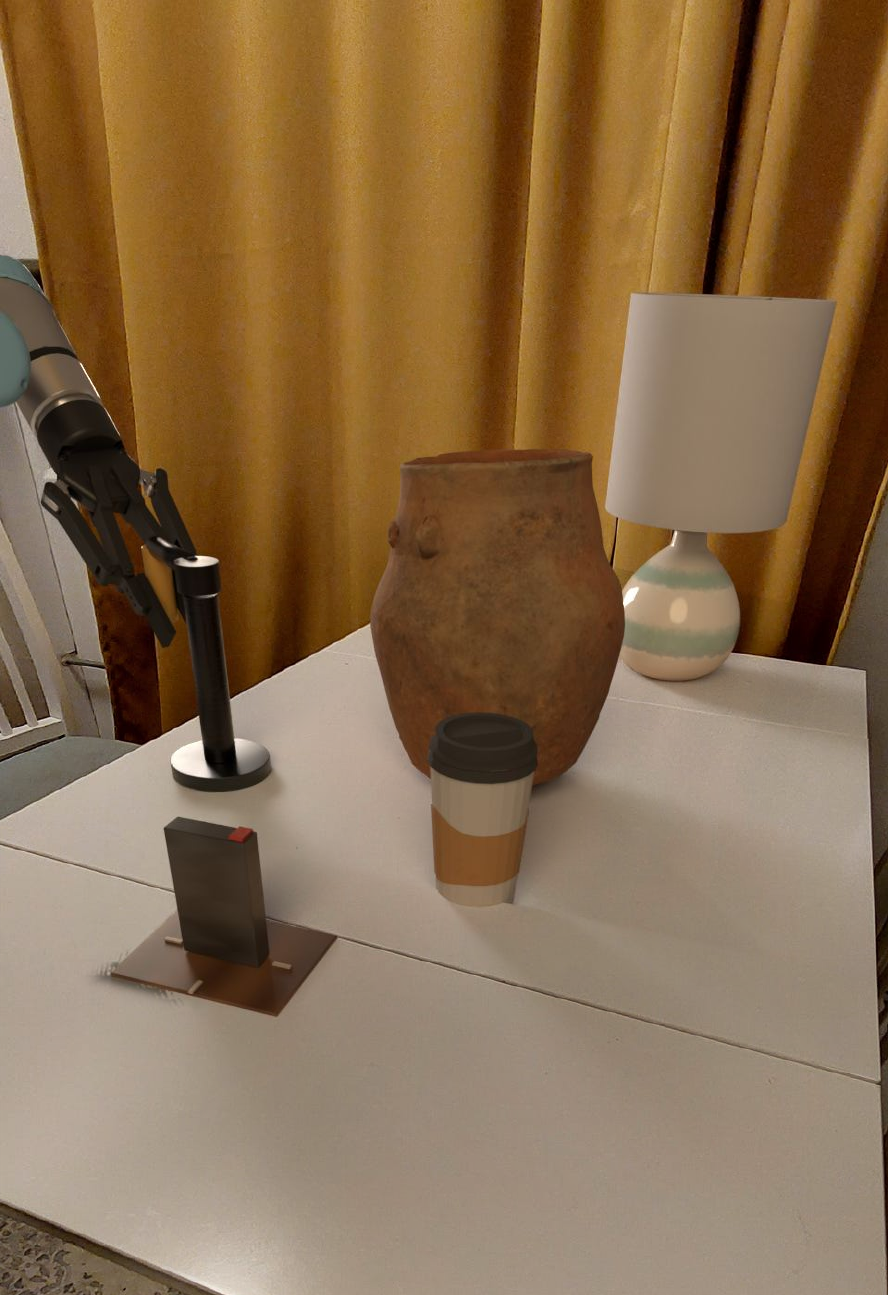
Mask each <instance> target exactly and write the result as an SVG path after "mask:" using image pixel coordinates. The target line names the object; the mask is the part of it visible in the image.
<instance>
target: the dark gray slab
mask: <svg viewBox="0 0 888 1295" xmlns="http://www.w3.org/2000/svg"><path fill="white" fill-rule="evenodd" d="M163 834H164V839H165V844H166V845H165V846H166V852H167V856H168V857H167V858H168V863H169V868H170V874H171V880H172V886H173V891H174V892H173V893H174V897H175V904H176V910H178V916H179V922H180V927H181V933H182V939H183V945H184V950H185V951H188V952H192V953H197V954H201V955H205V956H209V957H214V958H218V959H222V960H226V961H231V962H235V963H239V964H244V965H248V966H252V967H256V968H259V967H260V965H261V964H262V963H263V962H264V961H265V959H266V958H267V957H268V956H269V954H270V953H269V944H268V934H267V924H266V920H267V916H266V906H265V898H264V897H265V896H264V887H263V877H262V868H261V859H260V858H261V857H260V849H259V848H260V847H259V839H258V832H257V831H254V828H250V827H244V826H238V827H233V826H229V825H223V824H218V823H214V822H208V821H202V820H197V819H192V818H189V817H182V816H176V817H174V819H173V820H172V821H170V822H168V824H166V825H165V826H163Z"/></svg>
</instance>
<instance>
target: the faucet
mask: <svg viewBox="0 0 888 1295" xmlns="http://www.w3.org/2000/svg"><path fill="white" fill-rule="evenodd" d="M183 602H184V610H185V617H186V623H185V625H186V624H187V625H186V630H187V637H188V646H189V653H190V660H191V667H192V668H191V669H192V675H193V681H194V684H193V685H194V690H195V698H196V705H197V712H198V720H199V727H200V734H201V740H197V741H194V742H191V743H188V744H185V745H184V746H182V747H180V748H177V750H176V751H174V752H173V754H171V757H170V760H169V761H170V767H171V768H170V769H171V774H172V778H173V779H174V780H175V782H176V783H178V784H179V785H181V786H183V787H185V788H187V789H191V790H194V791H199V792H208V793H219V792H220V793H222V792H223V793H224V792H233V791H239V790H243V789H246V788H250V787H253V786H255V785H258V784H259V783H261V782H263V781H264V780H266V779H267V777H268V776H269V775H270V774H271V771H272V764H271V763H272V762H271V755H270V751H269V750H268V748H266V747H265V746H264V745H262V744H260V743H258V742H256V741H254V740H253V741H252V740H249V739H243V738H238V737H237V738H235V731H234V722H233V712H232V706H231V705H232V704H231V697H230V686H229V679H228V670H227V660H226V653H225V644H224V643H225V642H224V634H223V626H222V617H221V606H220V599H219V593H217V594H213V595H208V596H188V595H183Z"/></svg>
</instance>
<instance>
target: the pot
mask: <svg viewBox="0 0 888 1295" xmlns="http://www.w3.org/2000/svg"><path fill="white" fill-rule="evenodd" d="M593 458H594V455H593V454H591V452H588V451H584V452H583V451H580V450H577V449H575V450H574V449H573V450H571V449H565V448H561V449H560V448H559V449H557V448H556V449H550V448H528V449H488V450H487V449H486V450H470V451H469V450H467V451H466V450H465V451H453V452H446V453H440V454H438V455H436V456H423V457H416V458H414V459H412V460H409V461H405V462H402V463H400V465H399V475H400V479H399V480H400V483H399V500H398V505H397V509H396V515H395V520H394V521H390V523H389V525H388V528H387V541H388V543H389V545H390V551H389V552H390V553H389V557H388V562H387V565H386V567H385V569H384V571H383V574H382V576H381V578H380V581H379V582H378V583H379V584H378V586H377V588H376V590H375V593H374V597H373V601H372V604H371V608H370V612H369V615H370V616H369V627H370V633H371V639H372V644H373V645H372V646H373V650H374V654H375V658H376V662H377V666H378V669H379V672H380V676H381V680H382V684H383V688H384V692H385V696H386V701H387V704H388V707H389V708H388V709H389V711H390V715H391V716H392V720H393V723H394V726H395V729H396V731H397V733H398V738H399V741H401V743H402V746H403V748H404V750H405V752H406V753H407V756H408V758H409V760H410V762H411V764H412V766H414V768H416V770H418V771H419V772H421V773H422V774H424V775H425V776H426V777H428V779H430V780H431V769H430V764H429V763H428V761H427V760H428V753H429V744H430V740H431V738H432V737H433V736H434V735H435V728H436V726H437V724H438V723H439V722H440V721H442V720H443V719H445V718H447V717H450V716H453V715H458V714H463V713H474V712H485V713H496V714H503V715H507V716H511V717H514V718H517V719H519V720H522V721H523V722H525V723H526V724H528V725H529V726H530V727H531V728H532V730H533V735H534V741H535V742H536V743H537V748H538V753H537V760H538V766H537V768H536V770H535V771H534V777H533V783H532V786H535V785H538V784H542V783H546V782H551V781H552V780H554V779H557V778H558V777H560V776H561V775H563V774H564V773H566V772H568V770H570V769H571V768H572V767H573V766H574V765H575V764H576V763H577V761H578V760H579V759H580V756H581V755H582V753H583V751H584V749H585V748H586V745H587V744H588V742H589V740H590V738H591V736H592V734H593V732H594V730H595V728H596V725H597V724H598V722H599V720H600V717H601V716H600V715H601V712H602V710H603V708H604V705H605V703H606V701H607V698H608V697H609V696H608V695H609V692H610V689H611V686H612V682H613V679H614V676H615V673H616V668H617V666H618V662H619V659H620V657H619V655H620V651H621V647H622V643H623V638H624V632H625V611H624V603H623V595H622V590H623V588H622V585H621V581H620V579H619V577H618V575H617V573H616V572H615V570H614V568H613V567H612V565H611V563H610V562H609V559H608V557H607V553H606V550H605V547H604V538H603V529H602V523H601V517H600V516H601V515H600V511H599V510H600V509H599V507H598V502H597V498H596V494H595V490H594V487H593V486H594V485H593Z"/></svg>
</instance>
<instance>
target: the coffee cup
mask: <svg viewBox="0 0 888 1295" xmlns="http://www.w3.org/2000/svg"><path fill="white" fill-rule="evenodd" d="M537 753H538V748H537V743H536V742H535V741H534V735H533V730H532V728H531V727H530V726H529V725H528V724H526V723H525V722H523V721H522V720H519V719H517V718H514V717H511V716H507V715H503V714H496V713H485V712H474V713H463V714H458V715H453V716H450V717H447V718H445V719H443V720H442V721H440V722H439V723H438V724H437V726H436V728H435V735H434V736H433V737H432V738H431V740H430V744H429V753H428V760H427V761H428V763H429V764H430V769H431V779H430V786H431V788H430V789H431V804H430V810H431V811H430V812H431V831H432V832H431V833H432V852H433V853H432V855H433V869H434V870H433V871H434V875H435V890H437V892H438V893H439V895H440V896H442V898H444V899H445V900H447V901H449V902H450V903H453V904H457V905H460V906H463V907H470V908H486V907H494V906H497V905H501V904H502V903H504V904H509V905H513V903H514V900H515V893H516V887H517V881H518V875H519V873H520V868H521V862H522V855H523V851H524V850H523V849H524V843H525V837H526V831H527V825H528V821H529V820H528V819H529V815H530V811H529V810H530V801H531V796H532V795H531V794H532V788H533V785H532V783H533V777H534V771H535V770H536V768H537V766H538V760H537Z"/></svg>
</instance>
